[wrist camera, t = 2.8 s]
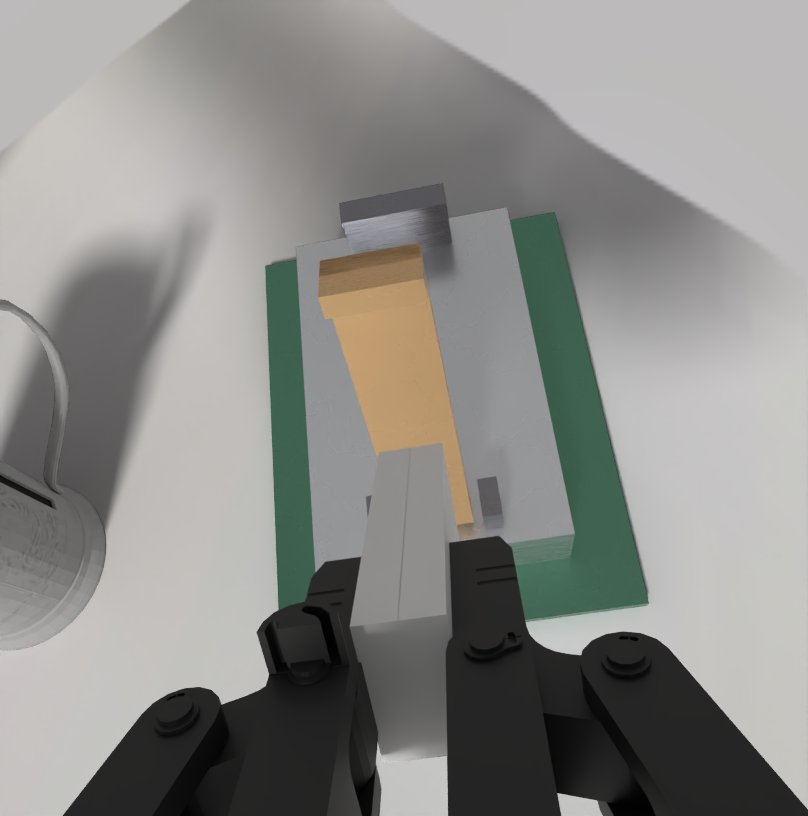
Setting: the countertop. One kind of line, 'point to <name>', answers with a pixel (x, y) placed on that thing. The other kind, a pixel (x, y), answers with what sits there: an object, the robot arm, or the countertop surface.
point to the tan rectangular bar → (394, 354)
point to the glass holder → (45, 534)
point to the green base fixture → (457, 406)
